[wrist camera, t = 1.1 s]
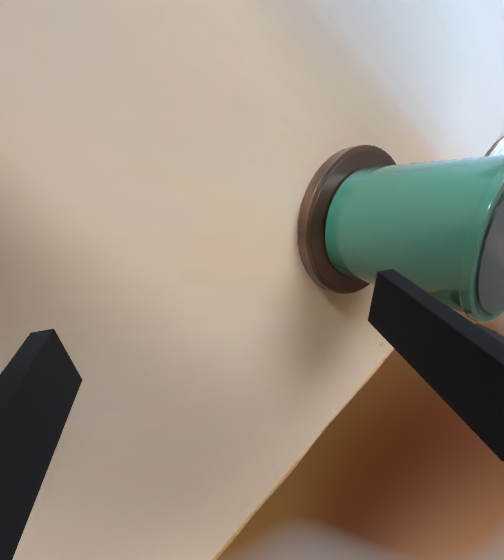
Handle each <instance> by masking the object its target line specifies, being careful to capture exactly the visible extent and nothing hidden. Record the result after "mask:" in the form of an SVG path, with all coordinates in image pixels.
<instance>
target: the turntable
mask: <svg viewBox="0 0 504 560" xmlns="http://www.w3.org/2000/svg"><path fill="white" fill-rule="evenodd" d="M389 165H396V163H395V162H394V160H393V159H392V158H391V156H389V155H388V154H387V153H386V152H385V151H384V150H382V149H380V148H378V147H375V146H371V145H361V146H355V147H350V148H346V149H343V150H341V151H339V152H337V153H336V154H334V155H333V156H332V157H330V158H329V159H328V160H327V161H326V162H325V163H324V164H323V165H322V166H321V167H320V169H319V170H318V171H317V172H316V174H315V176H314V177H313V179H312V180H311V182H310V184H309V187H308V189H307V191H306V193H305V196H304V199H303V202H302V206H301V210H300V215H299V222H298V244H299V250H300V255H301V258H302V261H303V264H304V266H305V269H306V270H307V272H308V274H309V275H310V276H311V278H312V279H313V280H314V281H315V282H316V283H317V284H319V285H320V286H322V287H324V288H326V289H328V290H331V291H334V292H337V293H343V294H344V293H352V292H356V291H358V290H361V289H363V288H364V287H366V286H368V285H369V284H370V283H368V282H365V281H361V280H358V279H355V278H352V277H348V276H345V275H343V274H341V273H340V272H339V271H337V269H336V268H335V267H334V266H333V264H332V263H331V261H330V259H329V256H328V253H327V250H326V244H325V226H326V219H327V214H328V211H329V208H330V205H331V202H332V200H333V197H334V196H335V194H336V192H337V190H338V189H339V187H340V186H341V184H342V183H343V182H344V181H345V180H346V179H347V178H348V177H349V176H350V175H351V174H353V173H354V172H356V171H358V170H360V169H363V168H367V167H378V166H389Z"/></svg>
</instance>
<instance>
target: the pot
mask: <svg viewBox="0 0 504 560" xmlns="http://www.w3.org/2000/svg"><path fill="white" fill-rule="evenodd" d="M325 244H326V250H327V253H328V256H329V259H330V261H331V263H332V264H333V266H334V267H335V268H336V269H337V271H339V272H340V273H341V274H343V275H345V276H348V277H352V278H355V279H358V280H361V281H365V282H368V283H371V284H374V285H375V281H376V276H377V271H383V270H389V269H394V270H395V271H397V272H398V273H400V274H401V275H403V276H404V277H406V278H407V279H409V280H410V281H412V282H413V283H415V284H416V285H417V286H419V287H420V288H422V289H423V290H425V291H426V292H428V293H429V294H431V295H432V296H434V297H435V298H437V299H438V300H440V301H441V302H442V303H444V304H445V305H447V306H448V307H450V308H451V309H455V310H458V311H461V312H464V313H465V314H466V315H467V317H469V318H471V319H472V320H476V321H479V322H489V321H492V320H494V319H495V318H497V317H498V316H499V315H500V314H501V313H502V312H503V311H504V155H497V156H486V157H475V158H464V159H454V160H443V161H432V162H421V163H410V164H400V165H389V166H378V167H367V168H363V169H360V170H358V171H356V172H354V173H353V174H351V175H350V176H349V177H348V178H347V179H346V180H345V181H344V182H343V183H342V184H341V186H340V187H339V189H338V190H337V192H336V194H335V196H334V197H333V200H332V202H331V205H330V208H329V211H328V214H327V219H326V226H325Z"/></svg>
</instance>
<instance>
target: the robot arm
mask: <svg viewBox="0 0 504 560" xmlns="http://www.w3.org/2000/svg"><path fill="white" fill-rule="evenodd" d="M368 321H369V322H370V323H371V324H372V325H373V326H374V327H375V329H376V330H377V331H378V332H379V333H380V334H381V335H382V336H383V337H384V338H385V339H386V340H387V341H388V342H389V343H390V344H391V345H392V346H393V347H394V348H395V349H396V351H397V352H398V353H399V354H400V355H401V356H402V357H403V358H404V359H405V360H406V361H407V362H408V363H409V364H410V365H411V366H412V367H413V368H414V369H415V370H416V371H417V372H418V374H419V375H420V376H421V377H422V378H423V379H424V380H425V381H426V382H427V383H428V384H429V385H430V386H431V387H432V388H433V389H434V390H435V391H436V392H437V393H438V395H440V396H441V398H442V399H443V400H444V401H445V402H446V403H447V404H448V405H449V406H450V407H451V408H452V409H453V410H454V411H455V412H456V413H457V414H458V415H459V416H460V417H461V419H462V420H463V421H464V422H465V423H466V424H467V425H468V426H469V427H470V428H471V429H472V430H473V431H474V432H475V433H476V434H477V435H478V436H479V437H480V439H482V441H483V442H484V443H485V444H486V445H487V446H488V447H489V448H490V449H491V450H492V451H493V452H494V453H495V454H496V455H497V456H498V457H499V458H500V459H501V461H504V337H503V336H502V335H500V334H499V333H497V332H496V331H494V330H491V329H489V328H487V327H484V326H482V325H479V324H473V323H472V322H470V321H469V320H467V319H466V318H465V317H463V316H462V315H460V314H459V313H457V312H456V311H454V310H453V309H451V308H450V307H448V306H447V305H445V304H444V303H442V302H441V301H440V300H438V299H437V298H435V297H434V296H432V295H431V294H429V293H428V292H426V291H425V290H423V289H422V288H420V287H419V286H417V285H416V284H415V283H413V282H412V281H410V280H409V279H407V278H406V277H404V276H403V275H401V274H400V273H398V272H397V271H395V270H394V269H389V270H383V271H377V276H376V281H375V286H374V291H373V296H372V302H371V307H370V312H369V317H368ZM81 382H82V378H81V377H80V375H79V373H78V371H77V369H76V368H75V366H74V364H73V362H72V360H71V359H70V357H69V355H68V353H67V351H66V350H65V348H64V346H63V344H62V343H61V341H60V339H59V337H58V335H57V334H56V332H55V330H54V329H50V330H44V331H38V332H33V333H30V335H29V336H28V337H27V339H26V340H25V341H24V343H23V344H22V346H21V347H20V348H19V350H18V351H17V352H16V354H15V355H14V357H13V358H12V359H11V361H10V362H9V363H8V365H7V366H6V368H5V369H4V370H3V372H2V373H1V374H0V560H12V559H13V556H14V554H15V551H16V548H17V546H18V543H19V541H20V538H21V536H22V533H23V531H24V528H25V525H26V523H27V520H28V518H29V515H30V513H31V510H32V507H33V505H34V502H35V500H36V497H37V495H38V492H39V490H40V487H41V484H42V482H43V479H44V477H45V474H46V472H47V469H48V466H49V464H50V461H51V459H52V456H53V454H54V451H55V448H56V446H57V443H58V441H59V438H60V436H61V433H62V431H63V428H64V425H65V423H66V420H67V418H68V415H69V413H70V410H71V407H72V405H73V402H74V400H75V397H76V395H77V392H78V389H79V387H80V384H81Z"/></svg>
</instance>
